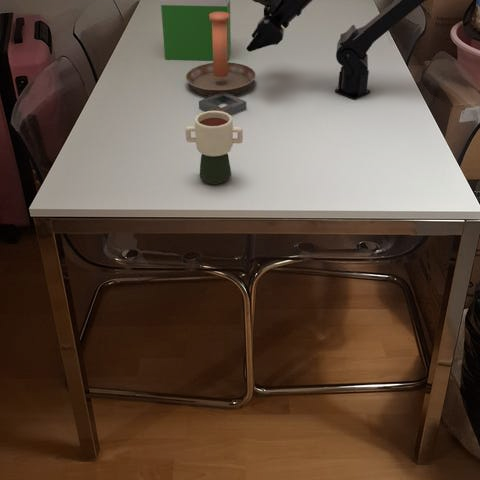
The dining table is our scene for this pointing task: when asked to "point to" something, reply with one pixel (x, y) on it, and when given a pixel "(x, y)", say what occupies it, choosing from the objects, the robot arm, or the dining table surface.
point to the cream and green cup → (214, 144)
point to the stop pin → (219, 43)
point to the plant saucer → (220, 79)
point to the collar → (232, 101)
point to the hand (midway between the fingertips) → (250, 43)
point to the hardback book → (191, 28)
